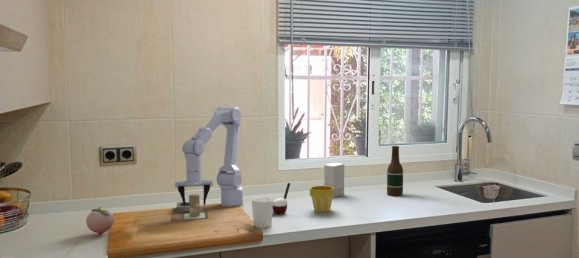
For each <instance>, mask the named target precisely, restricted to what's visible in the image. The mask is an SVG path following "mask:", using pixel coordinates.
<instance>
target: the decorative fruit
mask: <svg viewBox="0 0 579 258" xmlns="http://www.w3.org/2000/svg"><path fill="white" fill-rule="evenodd" d="M114 216H115V215H113V212H111V211H109V210H106V209H101V206H99V207H98V208H93V209H91V212H90V213H89V214H88V215H87V216H86V220H85V223H86V226H87V227H88V229H89V230H90V231H91V232H93V233H96V234H98V235H103V234H105V233H106V232H108V231H109V230H110V229H112V227H113V225H114V222H115V217H114Z"/></svg>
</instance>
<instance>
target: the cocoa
mask: <svg viewBox="0 0 579 258" xmlns="http://www.w3.org/2000/svg"><path fill="white" fill-rule="evenodd" d="M290 186H291V183H290V182H287V184H286V188H285V192H284V196H283V198H282V197H278V198H275V199H273V210H272V213H274V214H275V215H284V214H285V213H286V212H287V211H288V200H287V197H288V193H289V191H290Z"/></svg>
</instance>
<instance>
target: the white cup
mask: <svg viewBox="0 0 579 258" xmlns="http://www.w3.org/2000/svg"><path fill="white" fill-rule="evenodd" d="M273 201H274V198H271V197H269V196H268V197H266V196H260V197H253V198H252V199H251V206H252V207H251V209H252V220H253V227H255V228H260V229H266V228H271V226H272V225H273V224H272V222H273V221H272V220H273V212H272V211H273Z"/></svg>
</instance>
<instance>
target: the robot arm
mask: <svg viewBox="0 0 579 258" xmlns="http://www.w3.org/2000/svg"><path fill="white" fill-rule="evenodd" d="M241 120H242V112H241V110H240V108H239V107H237V106H233V107H232V106H231V107H230V106H229V107H228V106H218V107H217V108H216V109H215V110H214V111H213V116H212V118H211V119H210V120H209V122H208V123H206V125H205V126H203V127H199V128H198V130H197V132H196V133H195V134H193V136H192V137H191V138H190V139H187V140H186V141H185V142H184V143H183V145H182V147H181V149H182V152H183V155H184V158H185V171H186V172H185V175H186V176H185V177H186V178H185V179H186V180H182V181H175V182H174V188H177V191H178V193H179V195H180V197H181V201H182V202H183V206H185V202H186V195H185V194H186V193H185V188H187V187H189V188H190V187H203V201H202V202H203V206H206V202H207V197H208V194H209V192H210V189H211V187H214V183H213V180H212V179H211V180H208V179H205V180H204V179H202V154H203V153H204V151H205V147H206V145H207V144H208V142H209V141H210V140H211V139H212V137H213V132H214V131H215V130H216V129H217V128H218V127H219V126H220V125H222V126H224V127H225V129H226V139H225V146H224V147H225V148H224V156H223V159H224V160H223V165H222V166H221V167H219V169H218V173H217V175H216V184H217V186H218V187H219V188H220V205H221V206H222V207H237V206H238V207H239V206H241V207H242V208H244V196H243V187H240V186H241V184H242V173H241V172H242V171H241V169H240V168H239V167H238V166H237V160H238V159H237V158H238V147H239V136H240V126H241Z"/></svg>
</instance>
